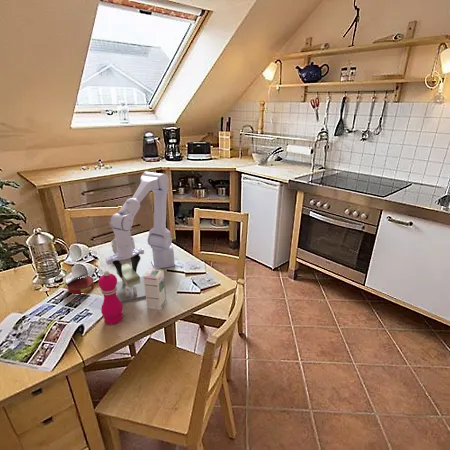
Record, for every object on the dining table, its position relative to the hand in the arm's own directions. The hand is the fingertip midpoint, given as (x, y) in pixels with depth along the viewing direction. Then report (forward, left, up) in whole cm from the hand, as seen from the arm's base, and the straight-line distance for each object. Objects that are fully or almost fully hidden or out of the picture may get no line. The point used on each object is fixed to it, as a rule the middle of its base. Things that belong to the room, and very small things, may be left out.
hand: (127, 274), depth 125 cm
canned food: (+18, -10, -9) cm, 22 cm away
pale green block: (0, 0, -2) cm, 2 cm away
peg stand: (0, 0, -8) cm, 8 cm away
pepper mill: (+8, +15, -8) cm, 19 cm away
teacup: (-3, -34, -8) cm, 35 cm away
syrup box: (-8, +13, -8) cm, 17 cm away
